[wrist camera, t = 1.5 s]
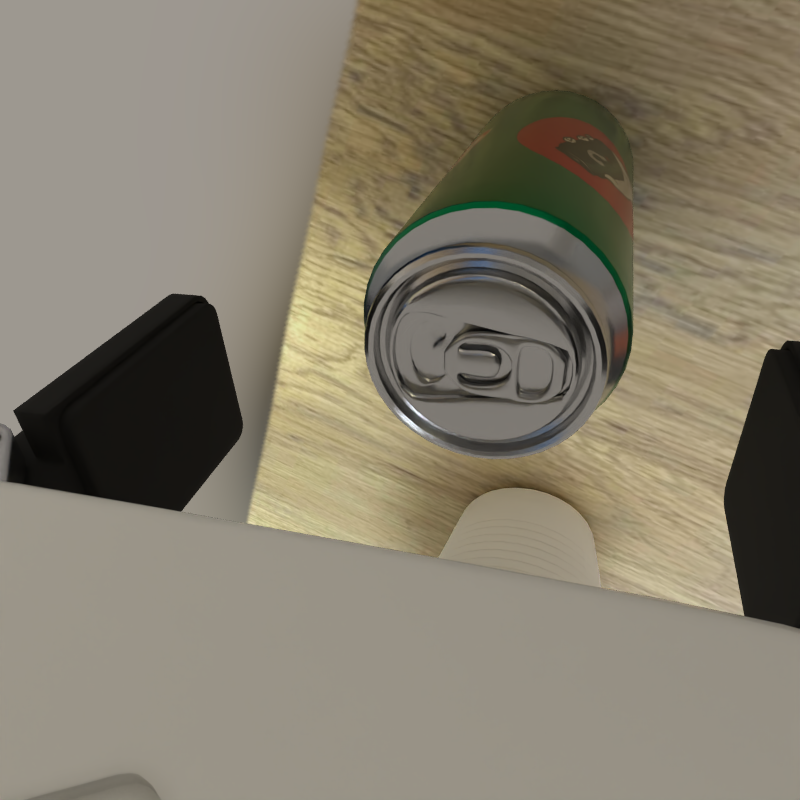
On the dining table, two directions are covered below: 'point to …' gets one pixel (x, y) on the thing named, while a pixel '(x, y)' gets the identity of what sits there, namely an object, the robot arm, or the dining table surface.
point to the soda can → (511, 284)
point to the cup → (525, 536)
